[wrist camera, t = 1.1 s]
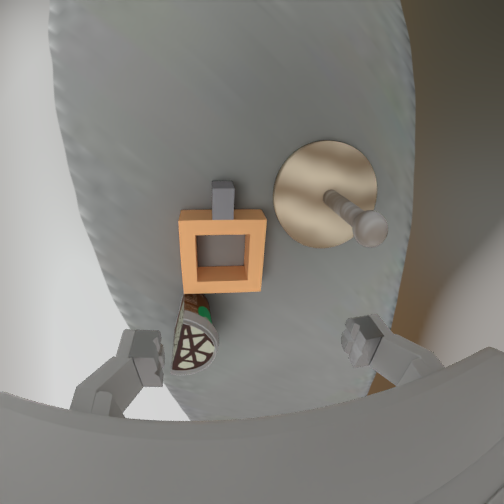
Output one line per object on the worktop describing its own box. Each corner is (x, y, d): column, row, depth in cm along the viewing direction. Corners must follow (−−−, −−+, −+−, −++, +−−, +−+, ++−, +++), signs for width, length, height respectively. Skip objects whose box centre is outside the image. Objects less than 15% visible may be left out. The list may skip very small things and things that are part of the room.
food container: (206, 338, 48) (208, 382, 39) (173, 332, 46) (170, 376, 38) (225, 285, 43) (231, 328, 34) (187, 276, 41) (183, 320, 33)
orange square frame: (256, 276, 43) (260, 291, 40) (185, 278, 41) (183, 293, 38) (263, 181, 36) (269, 189, 33) (180, 181, 34) (177, 189, 31)
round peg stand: (277, 134, 33) (319, 148, 21) (379, 148, 36) (446, 171, 23) (268, 244, 41) (296, 306, 28) (361, 243, 43) (410, 293, 31)
